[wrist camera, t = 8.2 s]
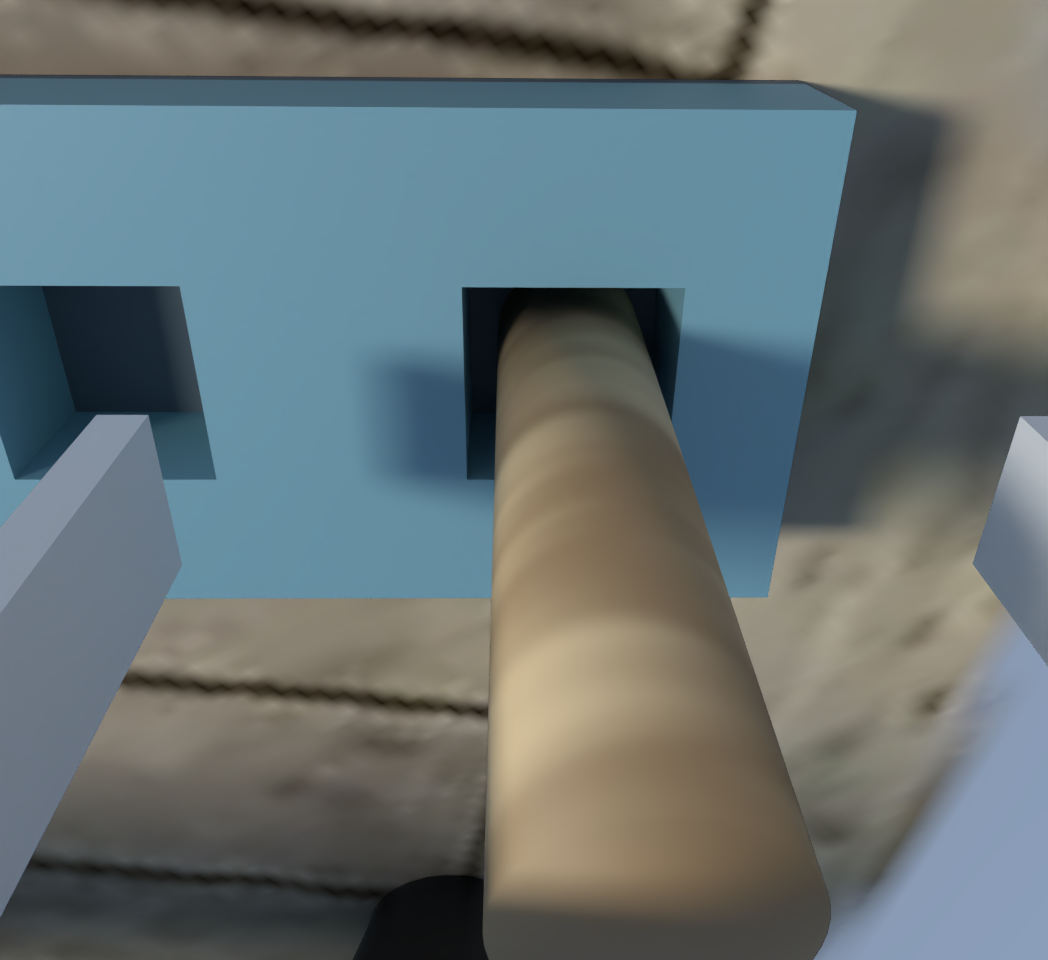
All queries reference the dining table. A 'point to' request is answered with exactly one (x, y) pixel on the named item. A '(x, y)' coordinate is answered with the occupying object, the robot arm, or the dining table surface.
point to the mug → (428, 922)
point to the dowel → (622, 677)
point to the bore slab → (398, 298)
